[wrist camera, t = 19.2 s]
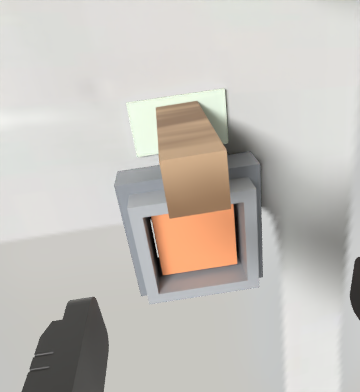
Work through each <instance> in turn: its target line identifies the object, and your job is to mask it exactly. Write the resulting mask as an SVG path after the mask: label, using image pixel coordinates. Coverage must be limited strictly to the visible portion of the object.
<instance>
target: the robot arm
mask: <svg viewBox="0 0 360 392" xmlns="http://www.w3.org/2000/svg"><path fill="white" fill-rule="evenodd" d="M350 300H351V305H352V307H353V310H354V312H355V314H356V315H357V317H358V318H359V320H360V257H358V258H357V259H356V260H355V264H354V270H353V277H352V284H351V290H350ZM108 349H109V344H108V334H107V330H106V327H105V324H104V321H103V318H102V315H101V312H100V309H99V306H98V303H97V300H96V298H95V297H89V298H82V299H76V300H70V301H69V302H68V303H67V306H66V309H65V313H64V317H63V320H58V321H52V322H51V324H50V325H49V326H48V328H47V329H46V330H45V332H44V333H43V334H42V335H41V337H40V339H39V343H38V345H37V348H36V351H35V357H34V358H33V360H32V363H31V366H30V372H29V373H28V375H27V378H26V381H25V384H24V386H23V390H22V392H104V384H105V376H106V368H107V359H108V351H109V350H108Z"/></svg>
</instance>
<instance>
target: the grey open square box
mask: <svg viewBox="0 0 360 392" xmlns="http://www.w3.org/2000/svg"><path fill="white" fill-rule="evenodd" d="M227 161H228V174H229V186H230V199H231V204H233V207H234V222H235V237H236V252H237V264H234V265H227V266H221V267H214V268H208V269H201V270H195V271H188V272H182V273H175V274H169V275H163V274H162V269H161V264H160V259H159V257H157V253H156V247H155V243H154V238H153V232H152V227H151V222H150V216H157V215H163V214H168V208H167V202H166V197H165V191H164V186H163V180H162V174H161V169H160V165H157V166H151V167H144V168H138V169H131V170H124V171H118V172H117V176H116V180H115V185H114V187H115V191H116V195H117V199H118V203H119V207H120V212H121V216H122V220H123V224H124V228H125V231H126V236H127V240H128V244H129V248H130V252H131V257H132V260H133V264H134V268H135V273H136V277H137V281H138V285H139V289H140V293H141V296H144V295H147V296H148V300H149V304H155V303H161V302H167V301H173V300H180V299H186V298H193V297H200V296H206V295H213V294H219V293H225V292H231V291H238V290H245V289H251V288H257V287H259V278H260V277H263V268H262V267H263V266H262V222H261V176H260V163H259V162H258V160H257V159H256V158H255V156H254V155H253V154H252V153H251V151H250V152H243V153H237V154H230V155H227Z"/></svg>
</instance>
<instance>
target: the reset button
mask: <svg viewBox="0 0 360 392" xmlns="http://www.w3.org/2000/svg"><path fill="white" fill-rule="evenodd" d="M151 218H152V223H153V228H154V233H155V239H156V244H157V249H158V254H159V259H160V264H161V269H162V274H163V275H169V274H175V273H182V272H188V271H195V270H201V269H208V268H214V267H221V266H227V265H234V264H237V252H236V237H235V222H234V207H233V204H231V209H228V210H222V211H215V212H209V213H203V214H197V215H190V216H184V217H178V218H172V219H169V214H163V215H157V216H151Z"/></svg>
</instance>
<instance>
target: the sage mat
mask: <svg viewBox="0 0 360 392" xmlns="http://www.w3.org/2000/svg"><path fill="white" fill-rule="evenodd" d="M192 101H198V103H199V105H200V106H201V108H202V110H203V112H204V113H205V115H206V117H207V118H208V120H209V122H210V123H211V125H212V127H213V128H214V130H215V132H216V133H217V135H218V137H219V138H220V140H221V142H222V143H223V144H228V128H227V114H226V99H225V89H224V88H221V89H215V90H208V91H201V92H195V93H188V94H181V95H175V96H168V97H161V98H155V99H148V100H141V101H134V102H128V103H126V105H127V110H128V115H129V120H130V125H131V130H132V135H133V140H134V145H135V150H136V155H137V157H142V156H148V155H155V154H159V152H158V136H157V121H156V107H161V106H167V105H173V104H180V103H186V102H192Z"/></svg>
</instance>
